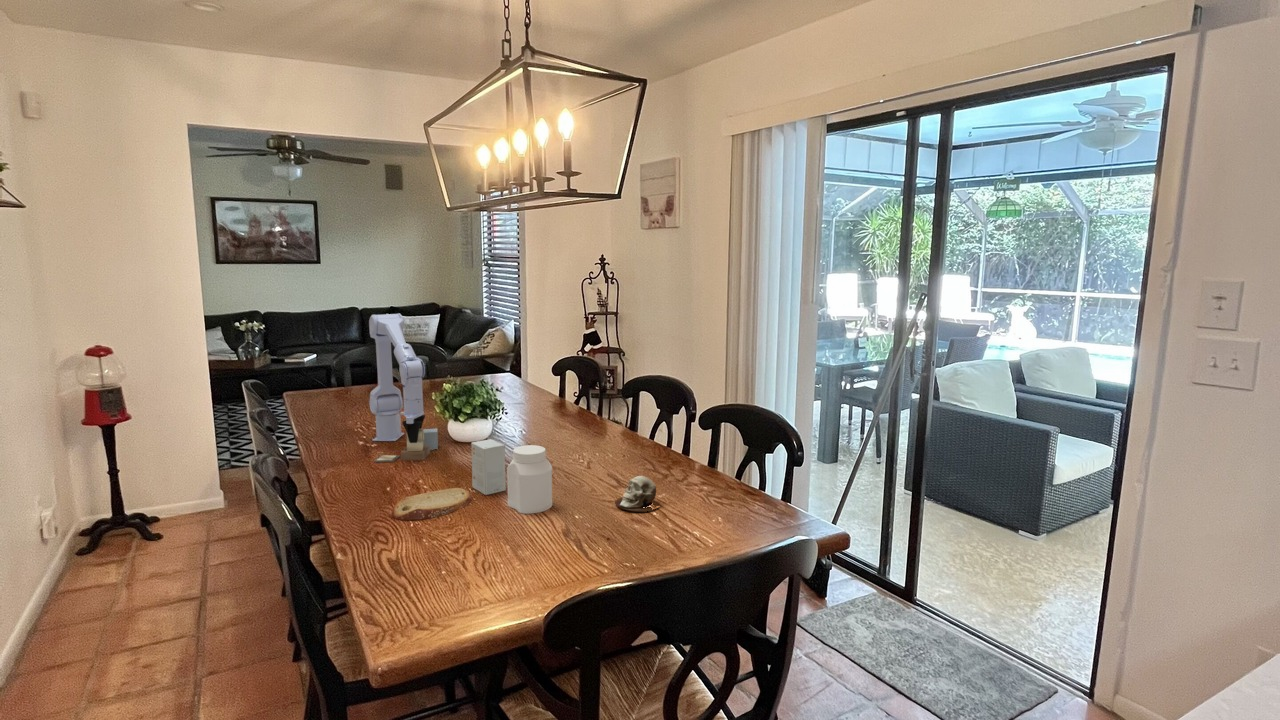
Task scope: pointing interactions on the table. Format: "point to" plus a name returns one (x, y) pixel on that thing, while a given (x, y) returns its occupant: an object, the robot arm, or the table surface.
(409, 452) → the walnut block
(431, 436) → the slate block
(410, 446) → the maple block
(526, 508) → the jar
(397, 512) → the slice of bread
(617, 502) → the skull
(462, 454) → the table surface
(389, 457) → the swatch tile
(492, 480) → the small box
